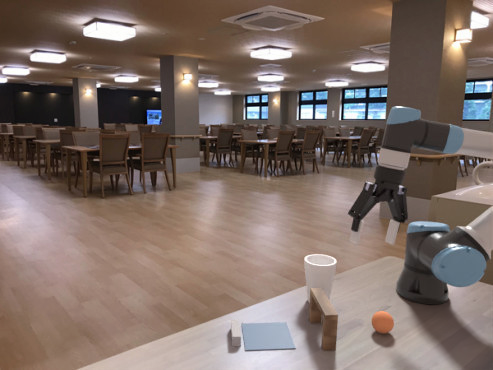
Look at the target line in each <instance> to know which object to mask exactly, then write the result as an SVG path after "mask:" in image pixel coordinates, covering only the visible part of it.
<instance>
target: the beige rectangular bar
mask: <svg viewBox="0 0 493 370" xmlns="http://www.w3.org/2000/svg"><path fill="white" fill-rule="evenodd" d="M230 335H231V344H232V347H241V346H242V344H241V343H242V336H241V327H240V321H239V319H230Z"/></svg>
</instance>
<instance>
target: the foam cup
mask: <svg viewBox="0 0 493 370" xmlns="http://www.w3.org/2000/svg"><path fill="white" fill-rule="evenodd" d="M337 264H338V263H337V259H336V258H335V257H333V256H330V255H327V254H321V253H320V254H319V253H314V254H309V255H306V256H304V263H303V268H304V276H305V283H306V284H305V285H306V286H305V289H306V297H307V298H306V299H307V302H308V303H309V304H310V288H322V290H323V291H324V293H325V295H326V296H327V298H328V299H329V301H330V298H331V294H332V289H333V283H334V278H335V273H336V271H337Z"/></svg>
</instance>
